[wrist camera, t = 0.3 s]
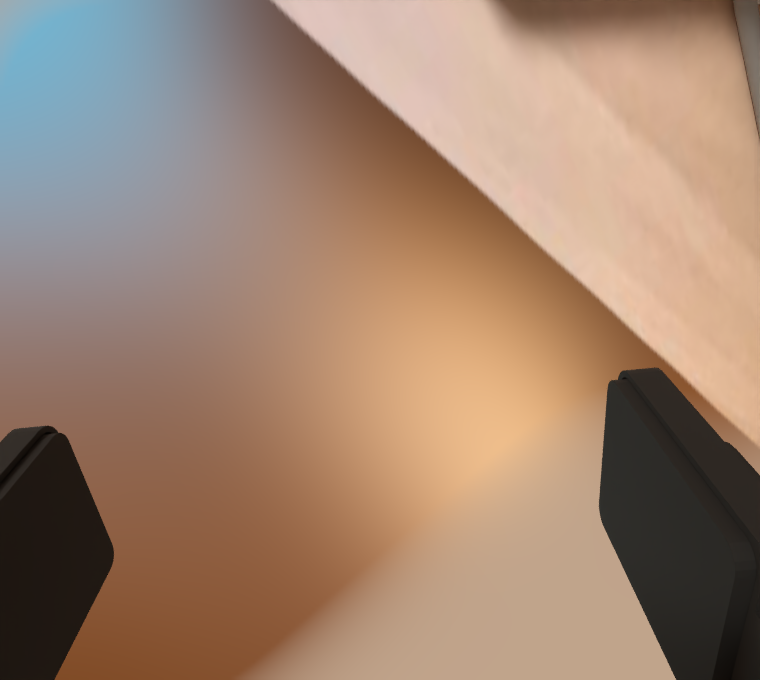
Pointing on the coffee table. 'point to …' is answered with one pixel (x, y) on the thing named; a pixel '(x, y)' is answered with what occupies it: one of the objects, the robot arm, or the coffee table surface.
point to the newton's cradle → (750, 46)
